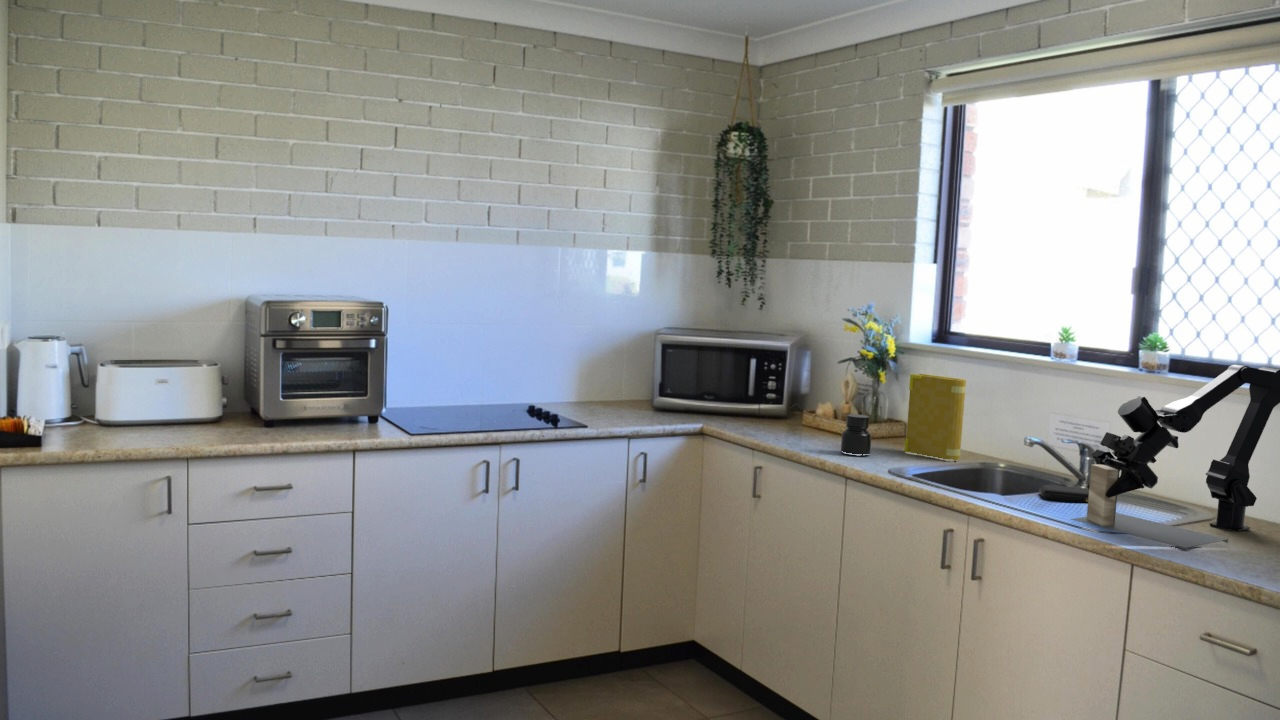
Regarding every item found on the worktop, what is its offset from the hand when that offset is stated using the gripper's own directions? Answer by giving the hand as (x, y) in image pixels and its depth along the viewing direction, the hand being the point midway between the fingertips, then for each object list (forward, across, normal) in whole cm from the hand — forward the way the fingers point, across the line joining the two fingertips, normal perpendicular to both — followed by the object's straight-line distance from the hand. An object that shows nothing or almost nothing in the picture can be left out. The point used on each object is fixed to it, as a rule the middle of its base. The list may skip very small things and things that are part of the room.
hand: (1097, 492), depth 242 cm
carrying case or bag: (-1, -27, +12) cm, 30 cm away
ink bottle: (+26, -85, -14) cm, 90 cm away
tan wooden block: (+4, 0, +6) cm, 7 cm away
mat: (-2, +5, +12) cm, 13 cm away
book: (+8, -84, +3) cm, 85 cm away
